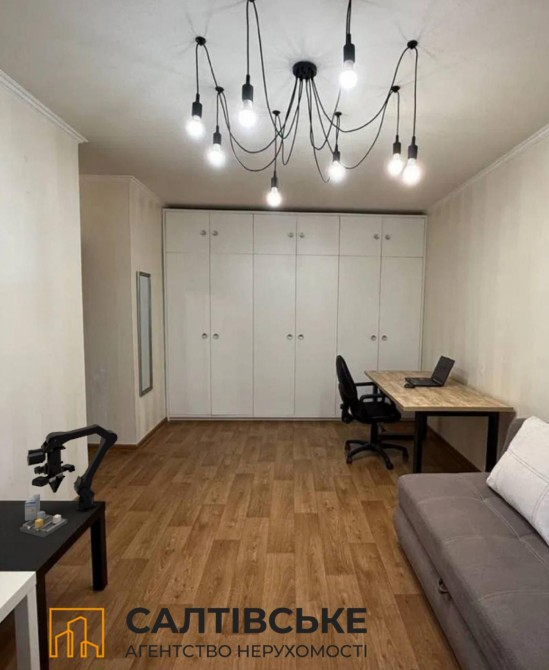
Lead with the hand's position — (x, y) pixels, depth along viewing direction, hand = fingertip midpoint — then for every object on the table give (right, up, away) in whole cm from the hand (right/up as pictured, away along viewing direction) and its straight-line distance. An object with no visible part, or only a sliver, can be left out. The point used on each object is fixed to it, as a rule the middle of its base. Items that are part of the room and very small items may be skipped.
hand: (54, 492), depth 171 cm
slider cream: (+5, -11, -6) cm, 13 cm away
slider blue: (-4, -10, -3) cm, 12 cm away
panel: (0, -12, -7) cm, 14 cm away
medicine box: (-11, -12, +2) cm, 17 cm away
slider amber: (-1, -11, -10) cm, 14 cm away
